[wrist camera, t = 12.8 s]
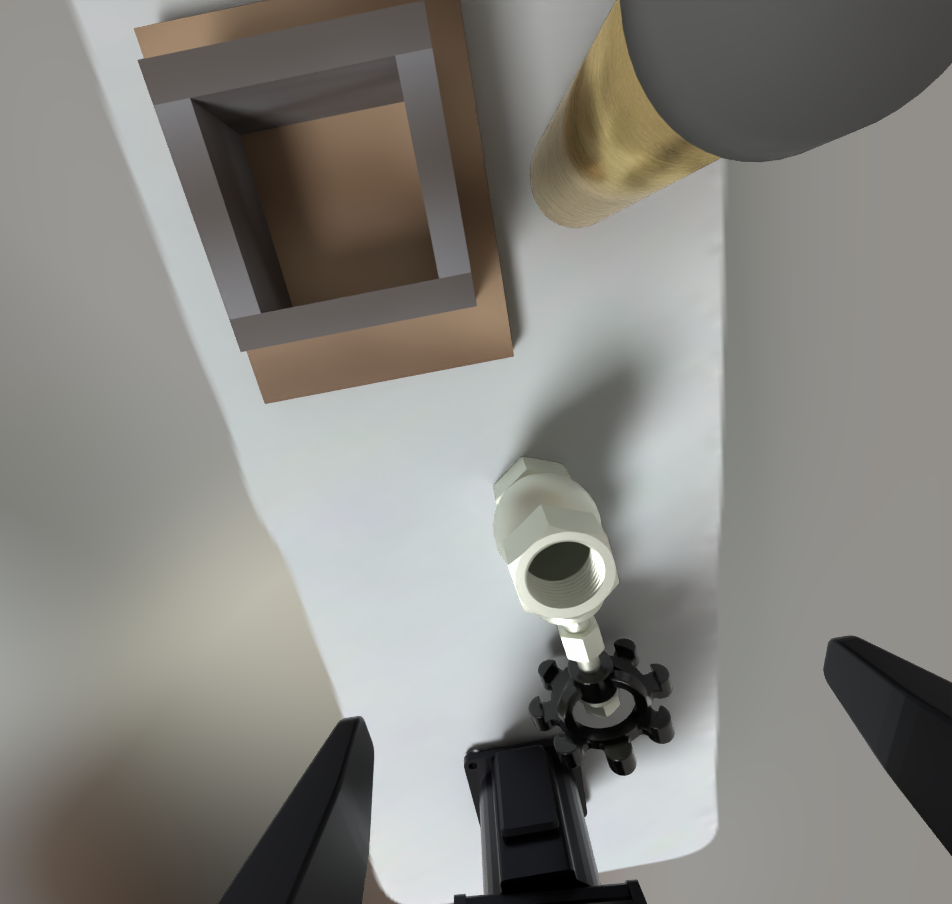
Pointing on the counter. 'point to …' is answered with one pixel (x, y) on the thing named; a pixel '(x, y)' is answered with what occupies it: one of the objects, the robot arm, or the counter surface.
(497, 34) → the counter surface
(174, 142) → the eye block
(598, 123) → the grey-topped tan cylinder
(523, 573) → the valve
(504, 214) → the counter surface
